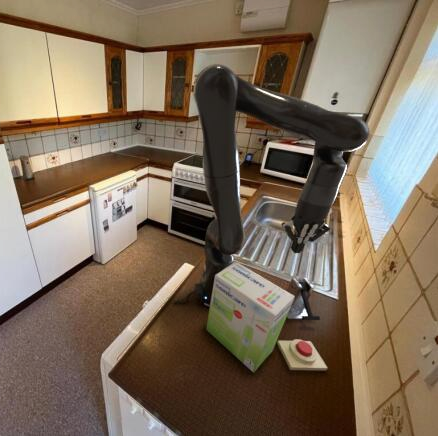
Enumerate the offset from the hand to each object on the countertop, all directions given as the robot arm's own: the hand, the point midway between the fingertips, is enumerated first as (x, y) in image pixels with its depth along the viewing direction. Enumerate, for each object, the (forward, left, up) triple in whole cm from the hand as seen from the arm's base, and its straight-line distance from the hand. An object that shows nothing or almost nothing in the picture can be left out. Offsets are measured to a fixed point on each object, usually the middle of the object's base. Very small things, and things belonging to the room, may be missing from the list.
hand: (295, 251), depth 71 cm
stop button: (+1, -16, -23) cm, 28 cm away
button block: (+1, -16, -27) cm, 31 cm away
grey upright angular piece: (+8, +2, -27) cm, 28 cm away
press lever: (+8, -1, -19) cm, 21 cm away
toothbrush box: (-16, -11, -27) cm, 33 cm away
